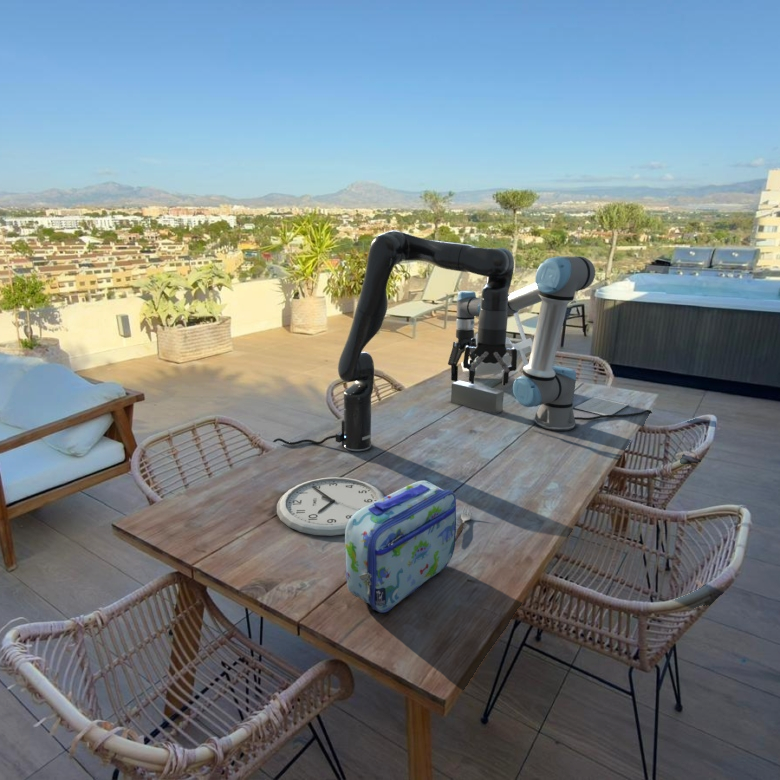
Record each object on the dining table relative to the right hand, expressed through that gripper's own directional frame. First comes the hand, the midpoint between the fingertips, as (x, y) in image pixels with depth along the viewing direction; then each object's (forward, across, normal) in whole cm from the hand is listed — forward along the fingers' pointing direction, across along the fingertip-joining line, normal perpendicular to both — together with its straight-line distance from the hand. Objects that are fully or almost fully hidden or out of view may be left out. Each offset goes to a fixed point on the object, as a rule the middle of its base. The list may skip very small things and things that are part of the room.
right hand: (463, 377), depth 225 cm
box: (+12, 0, -7) cm, 13 cm away
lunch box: (+14, -110, -59) cm, 126 cm away
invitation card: (+13, +38, -46) cm, 61 cm away
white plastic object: (+11, +38, +4) cm, 39 cm away
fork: (+14, -83, -56) cm, 101 cm away
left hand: (-18, -62, -49) cm, 81 cm away
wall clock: (+13, -98, -24) cm, 102 cm away
